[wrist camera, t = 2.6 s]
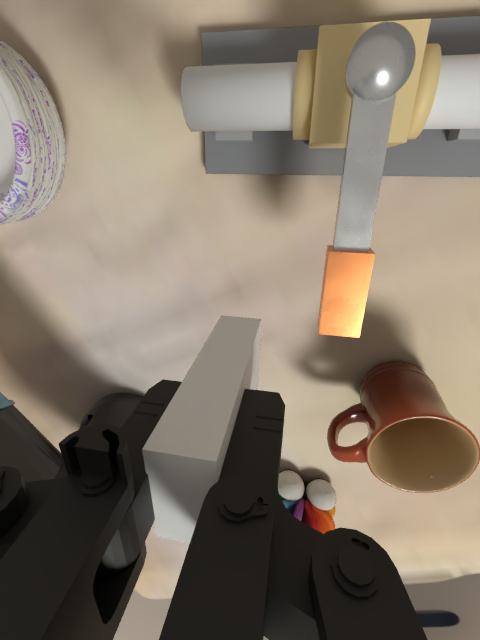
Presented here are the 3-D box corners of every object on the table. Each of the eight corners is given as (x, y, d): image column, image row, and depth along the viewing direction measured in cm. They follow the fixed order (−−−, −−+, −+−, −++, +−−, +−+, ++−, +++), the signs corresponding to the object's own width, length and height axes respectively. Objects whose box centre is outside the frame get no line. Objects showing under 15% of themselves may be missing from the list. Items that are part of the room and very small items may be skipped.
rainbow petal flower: (324, 518, 48) (327, 572, 41) (260, 498, 48) (253, 549, 42) (343, 480, 44) (349, 533, 37) (273, 459, 45) (268, 508, 38)
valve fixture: (210, 173, 31) (164, 175, 21) (206, 39, 27) (147, -37, 17) (490, 176, 27) (596, 180, 17) (538, 20, 23) (714, -94, 13)
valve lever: (348, 37, 16) (352, 22, 15) (411, 33, 16) (423, 18, 14) (314, 322, 23) (315, 333, 22) (358, 326, 23) (362, 338, 21)
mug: (430, 343, 34) (476, 408, 25) (440, 410, 37) (484, 489, 28) (315, 365, 37) (318, 428, 28) (332, 424, 40) (340, 498, 31)
